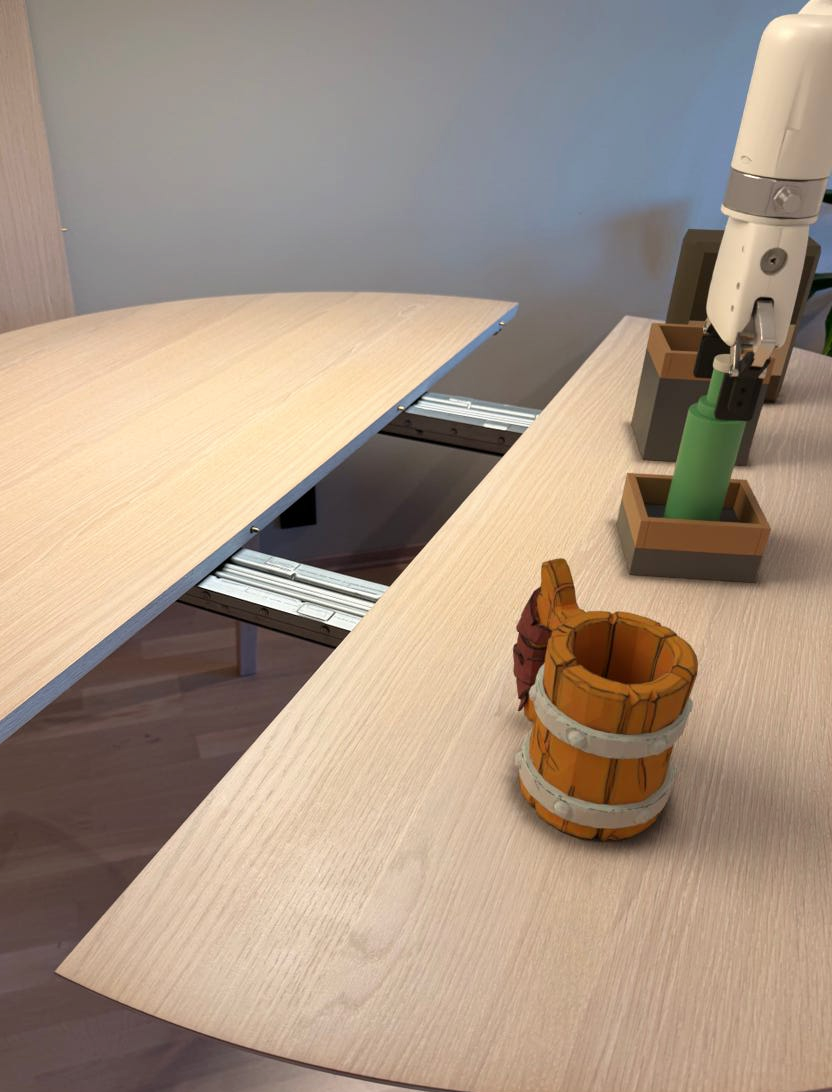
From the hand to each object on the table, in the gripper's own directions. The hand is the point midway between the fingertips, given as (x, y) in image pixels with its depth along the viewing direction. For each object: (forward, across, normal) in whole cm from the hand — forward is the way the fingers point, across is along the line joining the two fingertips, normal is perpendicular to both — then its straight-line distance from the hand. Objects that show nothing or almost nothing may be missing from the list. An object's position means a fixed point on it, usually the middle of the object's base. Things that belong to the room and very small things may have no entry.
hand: (720, 397), depth 89 cm
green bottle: (+14, 0, 0) cm, 14 cm away
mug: (+17, -33, +14) cm, 39 cm away
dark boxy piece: (+16, +44, -12) cm, 49 cm away
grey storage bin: (+16, +26, -5) cm, 31 cm away
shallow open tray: (+16, 0, 0) cm, 17 cm away
